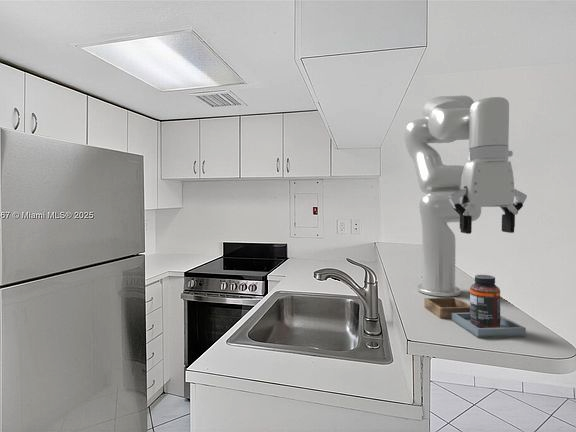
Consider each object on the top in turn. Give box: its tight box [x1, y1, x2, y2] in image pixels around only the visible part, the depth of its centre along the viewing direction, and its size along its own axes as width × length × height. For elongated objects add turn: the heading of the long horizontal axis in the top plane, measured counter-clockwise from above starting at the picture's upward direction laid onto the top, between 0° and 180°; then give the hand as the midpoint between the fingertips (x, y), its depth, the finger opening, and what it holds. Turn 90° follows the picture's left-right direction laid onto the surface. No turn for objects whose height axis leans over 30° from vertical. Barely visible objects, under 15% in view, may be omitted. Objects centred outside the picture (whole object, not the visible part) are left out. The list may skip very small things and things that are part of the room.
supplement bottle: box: [469, 274, 501, 328], centre depth 75 cm, size 6×6×11 cm
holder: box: [423, 296, 470, 319], centre depth 86 cm, size 9×9×2 cm
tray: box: [451, 313, 527, 339], centre depth 75 cm, size 10×10×2 cm
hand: (486, 232), depth 75 cm, fingers open, 9 cm apart
